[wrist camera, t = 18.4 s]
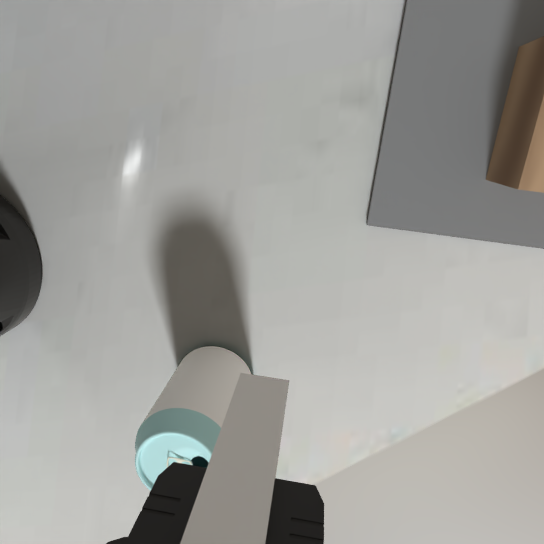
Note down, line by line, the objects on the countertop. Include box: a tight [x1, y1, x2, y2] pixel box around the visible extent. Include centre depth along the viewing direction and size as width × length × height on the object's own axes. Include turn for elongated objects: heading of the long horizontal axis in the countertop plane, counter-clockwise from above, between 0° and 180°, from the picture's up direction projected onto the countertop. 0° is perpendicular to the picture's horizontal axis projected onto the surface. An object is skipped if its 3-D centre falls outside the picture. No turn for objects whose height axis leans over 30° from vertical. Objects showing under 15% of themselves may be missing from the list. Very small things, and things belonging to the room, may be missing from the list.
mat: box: [367, 0, 544, 249], centre depth 33 cm, size 22×18×1 cm
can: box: [135, 346, 251, 491], centre depth 36 cm, size 7×7×12 cm
